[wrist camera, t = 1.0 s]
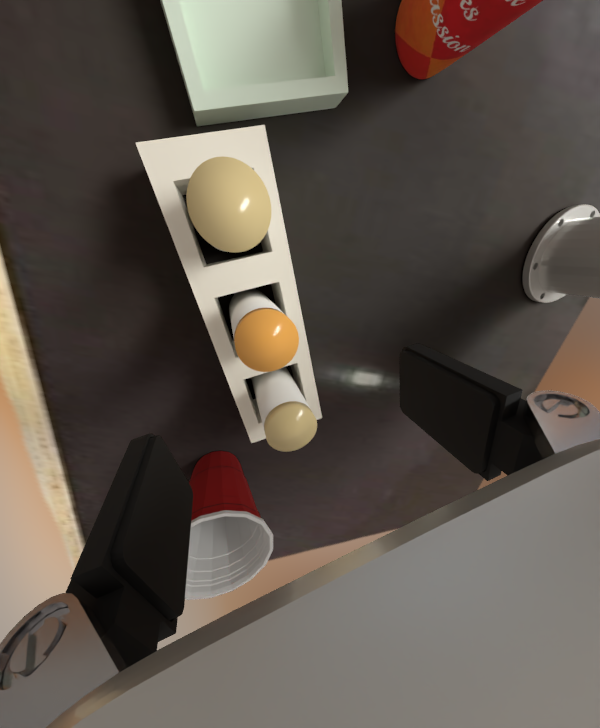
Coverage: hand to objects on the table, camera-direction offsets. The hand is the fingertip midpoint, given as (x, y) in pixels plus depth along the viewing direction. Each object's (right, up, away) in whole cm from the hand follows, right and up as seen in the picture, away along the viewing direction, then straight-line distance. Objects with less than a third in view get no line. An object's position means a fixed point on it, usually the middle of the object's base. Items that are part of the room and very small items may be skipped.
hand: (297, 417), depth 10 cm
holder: (-5, +8, +17) cm, 20 cm away
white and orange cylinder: (-5, +8, +17) cm, 20 cm away
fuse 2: (-4, +1, +21) cm, 21 cm away
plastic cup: (-11, -12, +24) cm, 29 cm away
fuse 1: (-7, +15, +14) cm, 21 cm away
